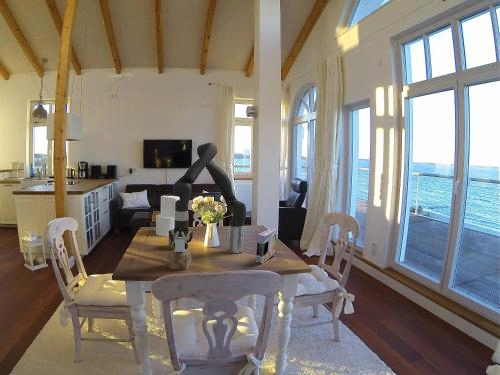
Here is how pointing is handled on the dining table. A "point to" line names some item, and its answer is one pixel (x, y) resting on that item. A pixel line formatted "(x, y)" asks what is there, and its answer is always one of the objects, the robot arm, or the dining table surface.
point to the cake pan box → (266, 245)
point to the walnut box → (180, 259)
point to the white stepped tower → (166, 215)
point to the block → (180, 244)
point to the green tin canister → (171, 243)
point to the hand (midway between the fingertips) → (180, 248)
